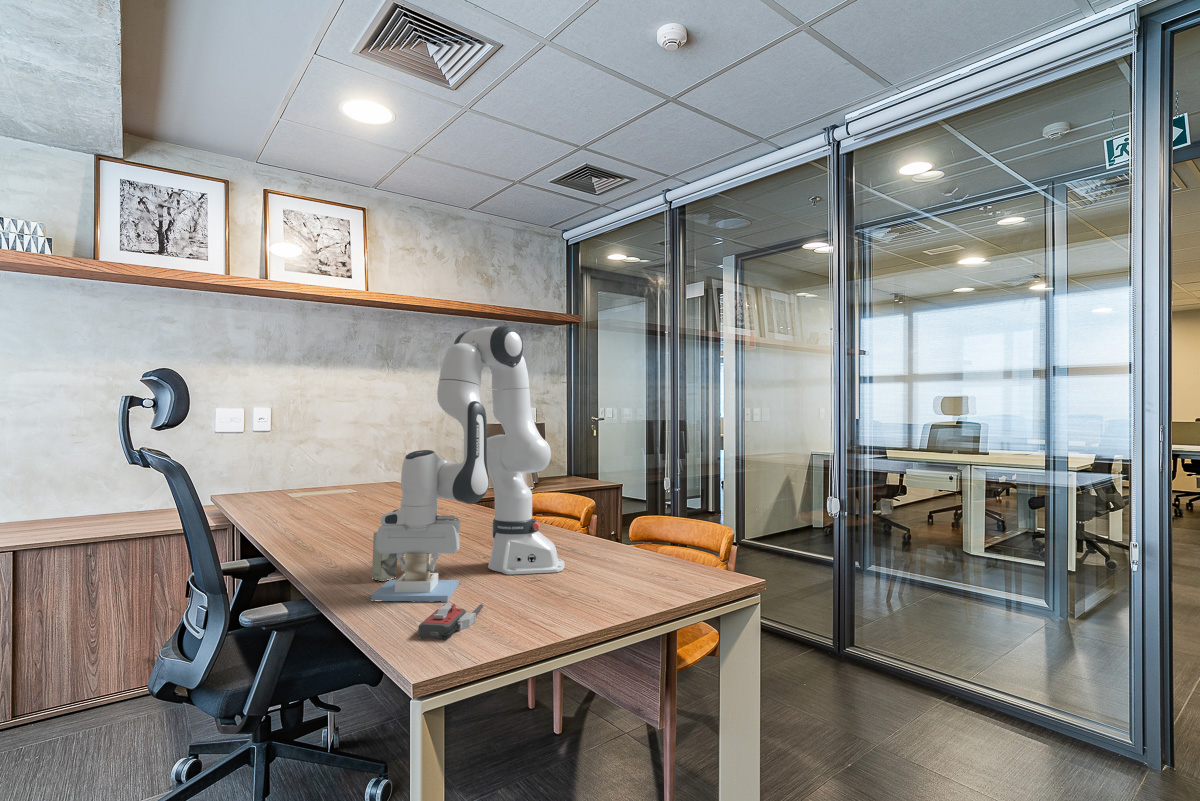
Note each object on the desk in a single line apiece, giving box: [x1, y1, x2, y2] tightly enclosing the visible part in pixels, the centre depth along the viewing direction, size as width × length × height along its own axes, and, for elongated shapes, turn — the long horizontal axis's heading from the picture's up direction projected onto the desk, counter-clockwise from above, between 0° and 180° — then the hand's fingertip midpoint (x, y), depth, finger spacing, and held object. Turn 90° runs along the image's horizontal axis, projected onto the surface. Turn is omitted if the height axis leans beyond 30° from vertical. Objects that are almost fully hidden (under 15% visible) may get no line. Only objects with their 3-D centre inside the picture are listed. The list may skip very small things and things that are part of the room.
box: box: [371, 531, 398, 581], centre depth 163 cm, size 5×4×13 cm
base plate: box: [370, 572, 460, 603], centre depth 151 cm, size 18×14×4 cm
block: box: [404, 553, 431, 581], centre depth 151 cm, size 5×5×8 cm
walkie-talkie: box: [417, 603, 484, 640], centre depth 129 cm, size 9×4×20 cm
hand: (417, 570), depth 151 cm, fingers closed on block, 5 cm apart
